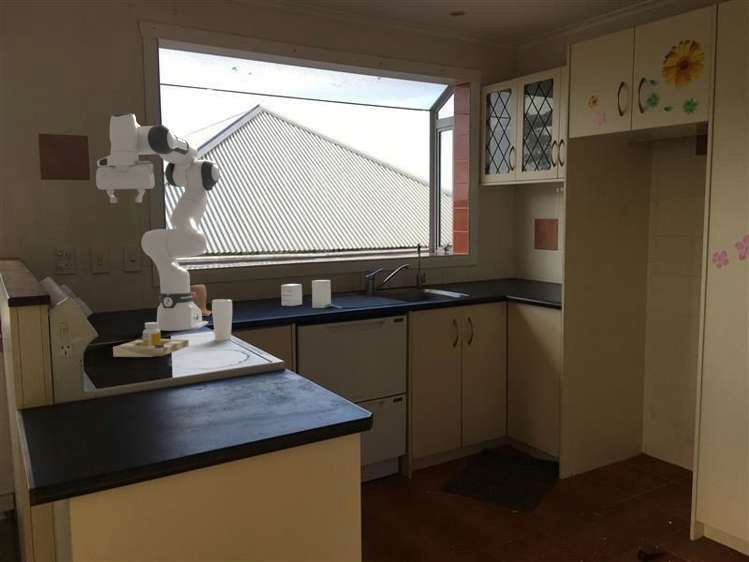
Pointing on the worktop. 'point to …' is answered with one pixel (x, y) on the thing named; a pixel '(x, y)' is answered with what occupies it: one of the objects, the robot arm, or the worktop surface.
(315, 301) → the skincare box
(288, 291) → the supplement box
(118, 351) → the cream square tray
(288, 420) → the worktop surface
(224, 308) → the drinking glass
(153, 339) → the supplement bottle
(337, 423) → the worktop surface
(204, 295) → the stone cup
